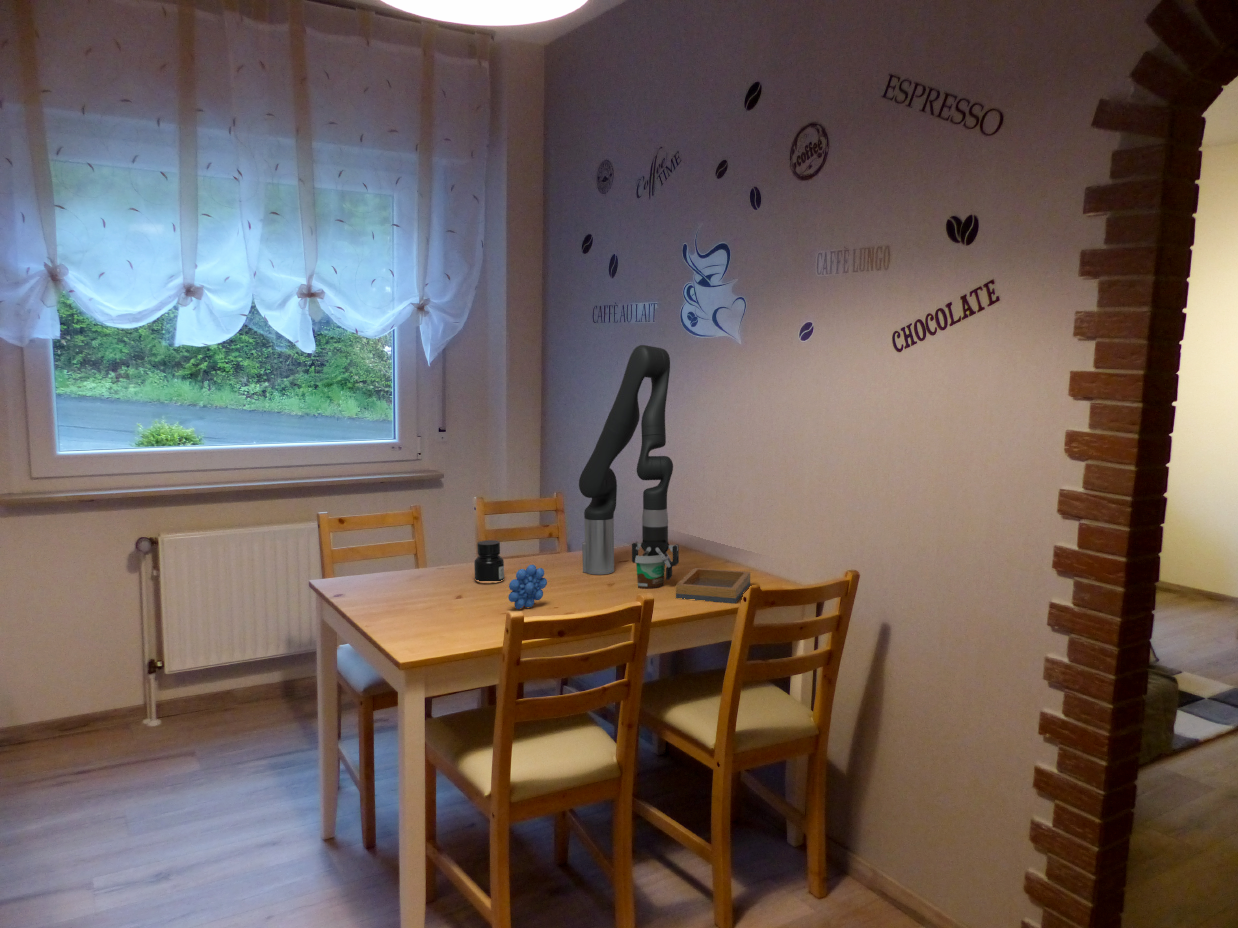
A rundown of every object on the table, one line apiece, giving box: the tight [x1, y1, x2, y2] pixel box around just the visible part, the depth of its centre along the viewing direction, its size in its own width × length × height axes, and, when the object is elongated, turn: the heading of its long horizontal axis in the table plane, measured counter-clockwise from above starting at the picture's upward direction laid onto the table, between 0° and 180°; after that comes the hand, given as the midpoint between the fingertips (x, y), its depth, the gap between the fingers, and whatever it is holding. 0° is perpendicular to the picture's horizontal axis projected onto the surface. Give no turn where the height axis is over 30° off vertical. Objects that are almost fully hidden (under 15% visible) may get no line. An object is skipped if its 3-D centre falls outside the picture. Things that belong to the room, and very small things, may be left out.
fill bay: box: [675, 567, 751, 605], centre depth 263 cm, size 17×21×4 cm
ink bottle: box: [473, 539, 505, 581], centre depth 277 cm, size 10×9×12 cm
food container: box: [634, 554, 666, 590], centre depth 270 cm, size 12×6×10 cm, turn 144°
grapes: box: [507, 564, 548, 610], centre depth 248 cm, size 12×7×12 cm, turn 123°
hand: (655, 578), depth 270 cm, fingers open, 7 cm apart
